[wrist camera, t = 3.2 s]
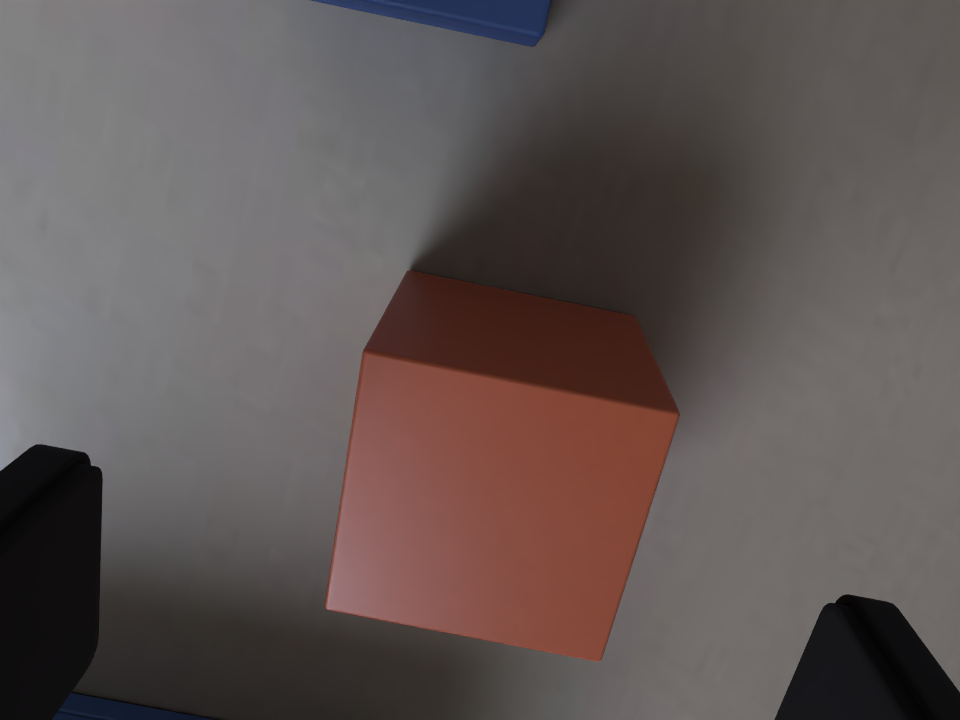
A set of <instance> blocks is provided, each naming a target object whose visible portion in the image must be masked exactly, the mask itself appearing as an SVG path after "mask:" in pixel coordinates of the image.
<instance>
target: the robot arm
mask: <svg viewBox="0 0 960 720" xmlns="http://www.w3.org/2000/svg"><path fill="white" fill-rule="evenodd" d="M102 481H103V479H102V472H101V469H100V468H99V467H96V466H91V462H90V459H89V456H88V455H87V454H86V453H85V452H79V451H74V450H69V449H63V448H58V447H52V446H47V445H42V444H41V445H34V446H33V447H31V448H29V449H28V450H27V451H25V452H24V453H23V454H22V455H20V456H19V457H18V458H17V459H15V460H14V461H13V462H11V463H10V464H9V465H8V466H6V467H5V468H4V469H3V470H1V471H0V720H52V719H53V718H54V716H55V715H56V713H57V712H58V710H59V709H60V708H61V706H62V705H63V703H64V702H65V700H66V699H67V698H68V696H69V695H70V693H71V692H72V690H73V689H74V688H75V686H76V685H77V683H78V682H79V680H80V679H81V678H82V676H83V675H84V673H85V672H86V671H87V669H88V667H89V666H90V664H91V662H92V659H93V657H94V654H95V651H96V648H97V644H98V637H99V600H100V560H101V521H102ZM775 720H960V692H959V691H958V690H957V688H956V687H955V685H954V684H953V683H952V681H951V680H950V679H949V677H948V676H947V675H946V673H945V672H944V670H943V669H942V668H941V666H940V665H939V664H938V662H937V661H936V660H935V658H934V657H933V655H932V654H931V653H930V651H929V650H928V649H927V647H926V646H925V645H924V643H923V642H922V640H921V639H920V638H919V636H918V635H917V634H916V632H915V631H914V630H913V628H912V627H911V625H910V624H909V623H908V621H907V620H906V619H905V617H904V616H903V615H902V613H901V612H900V610H899V609H898V608H897V607H896V606H895V605H894V604H892V603H889V602H886V601H881V600H875V599H870V598H864V597H859V596H854V595H848V594H847V595H843V596H841V597H840V598H839V599H838V600H837V601H836V603H829V604H827V605H825V606H824V607H823V609H822V611H821V613H820V615H819V617H818V620H817V622H816V624H815V627H814V629H813V631H812V634H811V636H810V638H809V641H808V643H807V645H806V648H805V650H804V652H803V655H802V657H801V659H800V662H799V664H798V666H797V669H796V671H795V673H794V676H793V678H792V680H791V682H790V685H789V687H788V689H787V692H786V694H785V696H784V699H783V701H782V703H781V706H780V708H779V710H778V713H777V715H776V717H775Z"/></svg>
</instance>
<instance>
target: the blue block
mask: <svg viewBox="0 0 960 720" xmlns="http://www.w3.org/2000/svg"><path fill="white" fill-rule="evenodd" d="M312 1H317V2H321V3H326V4H331V5H336V6H340V7H345V8H350V9H355V10H359V11H364V12H369V13H374V14H378V15H383V16H388V17H393V18H397V19H402V20H407V21H412V22H416V23H421V24H426V25H431V26H435V27H440V28H445V29H450V30H454V31H459V32H464V33H469V34H474V35H478V36H483V37H488V38H493V39H497V40H502V41H507V42H512V43H516V44H521V45H526V46H531V47H533V46H535V45H536V44H537V43H538V41H539V40H540V39H541V37H542V36H543V34H544V33H545V28H546V24H547V19H548V14H549V9H550V4H551V0H312Z"/></svg>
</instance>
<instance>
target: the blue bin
mask: <svg viewBox="0 0 960 720" xmlns="http://www.w3.org/2000/svg"><path fill="white" fill-rule="evenodd" d="M52 720H215V719H209V718H204V717H199V716H193V715H188V714H183V713H177V712H172V711H167V710H161V709H156V708H151V707H145V706H140V705H134V704H129V703H124V702H118V701H113V700H108V699H102V698H97V697H92V696H86V695H81V694H76V693H70V695H69V696H68V698H67V699H66V700H65V702H64V703H63V705H62V706H61V708H60V709H59V710H58V712H57V713H56V715H55V716H54V718H53V719H52Z"/></svg>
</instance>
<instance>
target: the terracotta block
mask: <svg viewBox="0 0 960 720" xmlns="http://www.w3.org/2000/svg"><path fill="white" fill-rule="evenodd" d="M679 416H680V413H679V410H678V408H677V406H676V404H675V402H674V399H673V397H672V395H671V393H670V391H669V388H668V386H667V384H666V382H665V380H664V378H663V375H662V373H661V371H660V369H659V367H658V365H657V362H656V360H655V358H654V356H653V354H652V352H651V349H650V347H649V345H648V343H647V341H646V338H645V336H644V334H643V332H642V330H641V328H640V325H639V323H638V321H637V319H636V317H635V316H633V315H628V314H623V313H618V312H613V311H609V310H604V309H599V308H594V307H589V306H584V305H579V304H574V303H569V302H564V301H559V300H554V299H549V298H544V297H539V296H534V295H529V294H525V293H520V292H515V291H510V290H505V289H500V288H495V287H490V286H485V285H480V284H475V283H470V282H465V281H460V280H455V279H450V278H445V277H441V276H436V275H431V274H426V273H421V272H416V271H411V270H409V271H407V272H406V274H405V276H404V278H403V280H402V281H401V283H400V285H399V287H398V289H397V290H396V292H395V294H394V296H393V298H392V300H391V301H390V303H389V305H388V307H387V309H386V310H385V312H384V314H383V316H382V318H381V320H380V321H379V323H378V325H377V327H376V329H375V330H374V332H373V334H372V336H371V338H370V340H369V341H368V343H367V345H366V347H365V349H364V350H363V353H362V359H361V366H360V373H359V380H358V386H357V393H356V400H355V406H354V413H353V420H352V426H351V433H350V440H349V447H348V453H347V460H346V467H345V473H344V480H343V487H342V494H341V500H340V507H339V514H338V520H337V527H336V534H335V540H334V547H333V554H332V561H331V567H330V574H329V581H328V587H327V594H326V601H325V608H326V609H327V610H330V611H336V612H341V613H346V614H351V615H356V616H362V617H367V618H372V619H377V620H383V621H388V622H393V623H398V624H404V625H409V626H414V627H419V628H424V629H430V630H435V631H440V632H445V633H451V634H456V635H461V636H466V637H471V638H477V639H482V640H487V641H492V642H498V643H503V644H508V645H513V646H519V647H524V648H529V649H534V650H539V651H545V652H550V653H555V654H560V655H566V656H571V657H576V658H581V659H587V660H592V661H597V662H599V661H601V659H602V657H603V654H604V651H605V647H606V644H607V641H608V638H609V635H610V632H611V629H612V626H613V622H614V619H615V616H616V613H617V610H618V607H619V604H620V601H621V597H622V594H623V591H624V588H625V585H626V582H627V579H628V576H629V572H630V569H631V566H632V563H633V560H634V557H635V554H636V551H637V547H638V544H639V541H640V538H641V535H642V532H643V529H644V526H645V522H646V519H647V516H648V513H649V510H650V507H651V504H652V501H653V498H654V494H655V491H656V488H657V485H658V482H659V479H660V476H661V473H662V469H663V466H664V463H665V460H666V457H667V454H668V451H669V448H670V444H671V441H672V438H673V435H674V432H675V429H676V426H677V423H678V419H679Z"/></svg>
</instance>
